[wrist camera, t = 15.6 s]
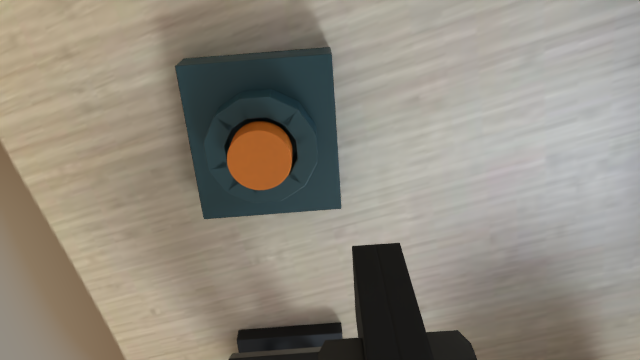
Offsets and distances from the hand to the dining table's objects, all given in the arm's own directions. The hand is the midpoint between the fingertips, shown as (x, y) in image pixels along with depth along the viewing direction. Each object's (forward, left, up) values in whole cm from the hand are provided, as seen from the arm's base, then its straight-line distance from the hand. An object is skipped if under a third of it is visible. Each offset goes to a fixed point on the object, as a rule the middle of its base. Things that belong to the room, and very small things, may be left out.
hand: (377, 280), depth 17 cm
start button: (+1, -5, -15) cm, 15 cm away
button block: (+1, -5, -18) cm, 19 cm away
